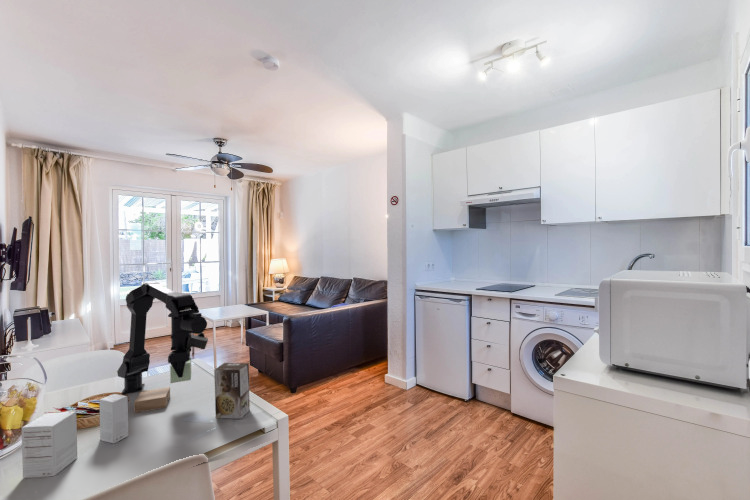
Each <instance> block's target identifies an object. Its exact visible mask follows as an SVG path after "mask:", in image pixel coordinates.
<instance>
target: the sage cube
mask: <svg viewBox="0 0 750 500" xmlns="http://www.w3.org/2000/svg"><path fill="white" fill-rule="evenodd" d="M169 371H170V373H169V374H170V378H169V379H170V384H173V383H180V382H185V381H186V382H187V381H191V379H192V357H190V360H188V361H187V362H186V363H185V366H184V371H183V376H182V377H180V378H179V377H178V375H177V374H176V372H175V370H174V368H173V367H172V365H171V364H170V370H169Z"/></svg>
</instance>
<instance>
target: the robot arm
mask: <svg viewBox="0 0 750 500" xmlns="http://www.w3.org/2000/svg"><path fill="white" fill-rule="evenodd" d="M155 299H157V300H159V302H162V303H164V304H165V308H166V309H167V310H168V311H169V312H170V313H168V314H167V315H168V316H167V317H168V318H170V319H171V320H170V323H171V326H170V327H171V331H170V332H171V333H170V334H171V335H170V339H171V346H170V351H171V352H170V353H169V354H168V356H167V363H168V364H170V365H172V367H173V368H174V370H175V372H176V374H177V375H178V377H179V378H180V377H182V376H183V371H184V366H185V363H186V362H187V361H188V360H190V358H191V352H192V348H196V349H200V350H205V349H206V347H207V345H208V342H209V340H208V339H209V338H208V337H207V336H206V337H205V331H206V329H207V327H208V322H207V319H206V318H205V317H203V316H202V313H201V312H200V310H199V307H198V305H197V303H196V302H195V299H194V298H193V296H192V295H191V294H190V293H187V292H186V293H185V292H176V291H174V290H173V289H170V288H168V287H165V286H164V285H161V284H160V282H157V281H151V282H145V283H143V284H142V285H140V286H138V287H137V288H135V289H132V290H131V291H130V292H129V293H127V295H126V296H125V302H126V308H127V309H128V310H129V312H130V314H131V315H130V316H131V317H130V330H129V347H128V350H127V352H126V353H125V354H124V355H123V358H122V363H121V365H120V366H119V368H118V369H117V371H116V372H117V376H118V377H119V378H122V379H123V381H124V382H123V383H124V385H123V386H124V388H123V390H121V394H122V393H123V394H128V393H135V392H139V391H140V392H142V391H143V389H144V387H145V383H143V373H145V372H146V373H147V372H148V370H149V366H150V362H151V361H150V357H151V354H150V352H149V353H148V351H147V350H146V349H145V347H146V344H145V343H146V330H147V316H148V315H147V314H148V313H149V311H150V310H151V308H152V307H153V304H154V303H153V302H154V300H155ZM203 332H204V333H203ZM193 334H195V335H193Z"/></svg>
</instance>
